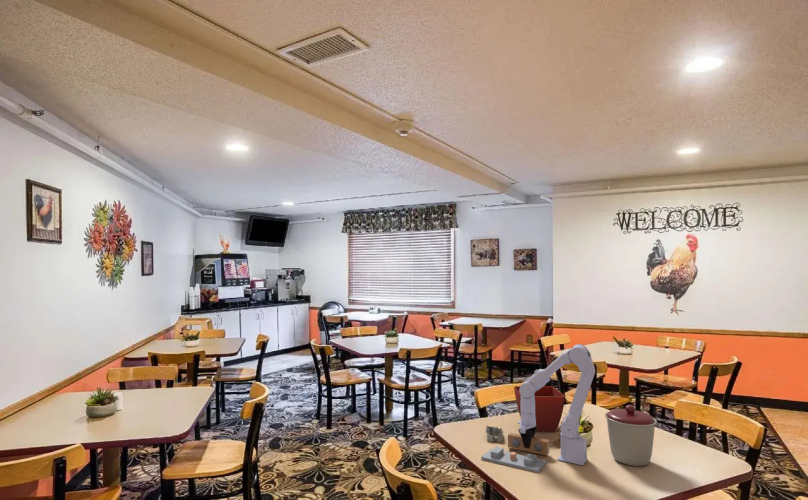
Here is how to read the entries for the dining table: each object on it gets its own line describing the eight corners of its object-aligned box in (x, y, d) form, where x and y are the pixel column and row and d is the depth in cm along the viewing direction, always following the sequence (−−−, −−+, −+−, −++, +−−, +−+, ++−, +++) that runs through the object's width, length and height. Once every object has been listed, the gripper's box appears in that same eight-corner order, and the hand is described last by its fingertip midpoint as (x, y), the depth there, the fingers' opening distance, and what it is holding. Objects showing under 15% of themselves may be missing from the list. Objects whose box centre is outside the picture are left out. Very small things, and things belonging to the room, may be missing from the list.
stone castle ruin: (503, 443, 198) (503, 433, 199) (485, 441, 200) (485, 432, 200) (503, 434, 209) (503, 425, 209) (486, 433, 210) (486, 423, 211)
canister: (664, 461, 179) (663, 405, 180) (647, 475, 167) (646, 415, 168) (616, 448, 193) (616, 396, 194) (597, 460, 180) (596, 405, 181)
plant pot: (513, 420, 227) (513, 385, 228) (552, 420, 227) (552, 385, 228) (523, 434, 208) (523, 396, 209) (566, 434, 208) (565, 396, 209)
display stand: (545, 463, 177) (545, 455, 178) (538, 472, 169) (538, 464, 169) (491, 450, 189) (491, 443, 189) (481, 459, 181) (481, 451, 181)
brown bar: (549, 452, 185) (549, 440, 185) (547, 455, 182) (547, 442, 183) (510, 444, 194) (510, 432, 194) (507, 447, 191) (507, 435, 191)
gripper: (523, 406, 197) (524, 438, 196) (512, 415, 185) (512, 450, 184) (540, 408, 193) (541, 442, 193) (529, 418, 181) (530, 453, 180)
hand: (528, 446), depth 188 cm, fingers closed on brown bar, 3 cm apart
